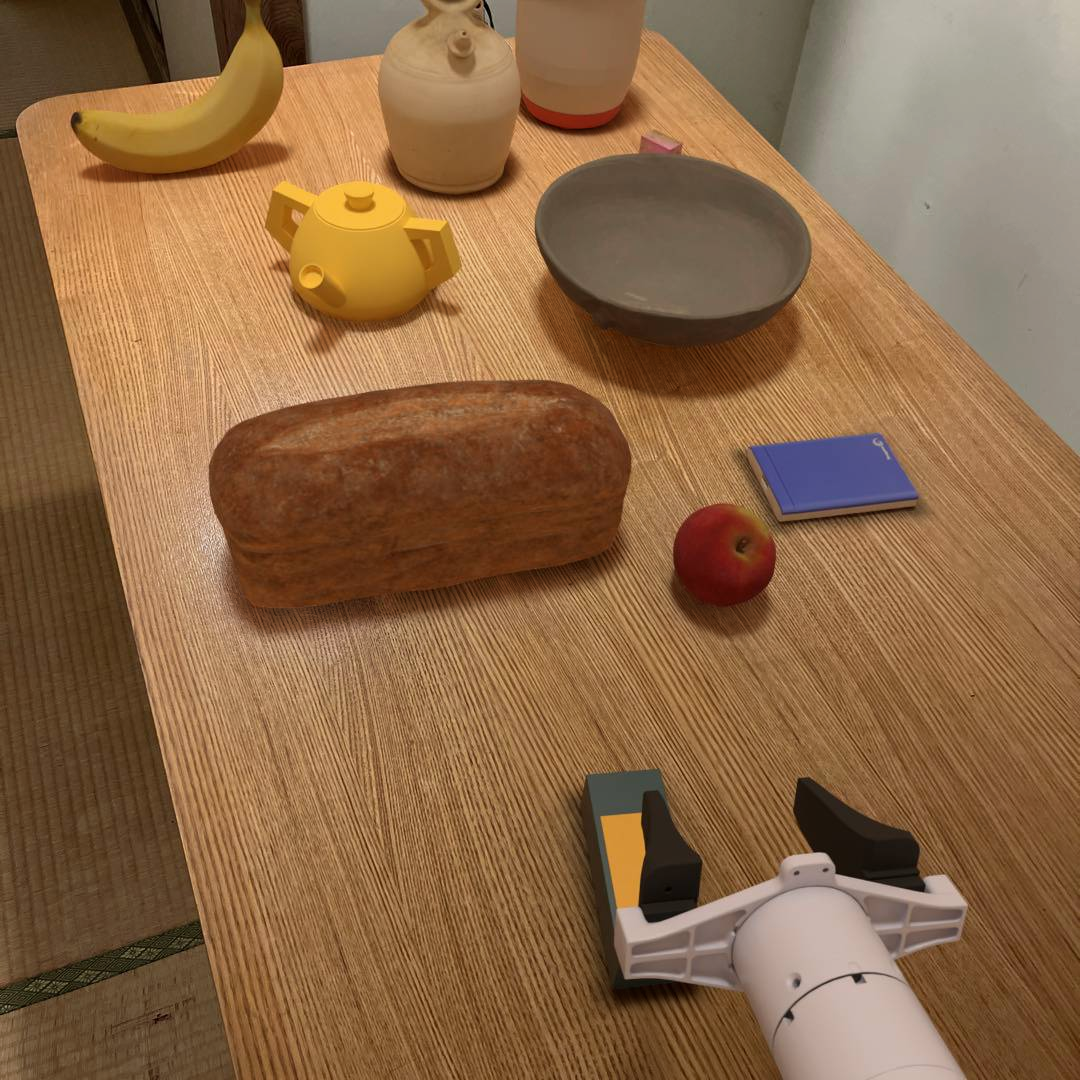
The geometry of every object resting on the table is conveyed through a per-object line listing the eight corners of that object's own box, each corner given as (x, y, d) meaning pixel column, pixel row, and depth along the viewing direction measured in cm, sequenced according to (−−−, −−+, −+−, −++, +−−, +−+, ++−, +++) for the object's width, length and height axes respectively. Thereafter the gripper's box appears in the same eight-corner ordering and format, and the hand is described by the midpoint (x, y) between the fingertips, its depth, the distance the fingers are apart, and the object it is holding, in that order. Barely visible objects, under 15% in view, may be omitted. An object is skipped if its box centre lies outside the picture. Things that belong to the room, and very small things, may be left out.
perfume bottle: (603, 182, 124) (607, 145, 121) (666, 148, 131) (672, 112, 127) (685, 225, 119) (692, 188, 116) (747, 187, 126) (755, 151, 122)
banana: (86, 190, 116) (34, -4, 101) (82, 163, 119) (32, -28, 104) (296, 167, 122) (277, -18, 107) (287, 142, 125) (267, -41, 111)
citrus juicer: (574, 65, 144) (590, -100, 129) (658, 121, 135) (684, -50, 120) (477, 91, 137) (481, -81, 122) (558, 151, 128) (574, -26, 113)
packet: (690, 981, 64) (703, 954, 61) (611, 989, 63) (620, 963, 60) (650, 798, 72) (660, 767, 69) (579, 804, 71) (586, 773, 68)
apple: (662, 621, 82) (680, 552, 76) (668, 543, 87) (685, 473, 81) (762, 636, 81) (787, 568, 76) (762, 557, 87) (785, 487, 81)
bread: (220, 515, 86) (192, 384, 76) (588, 462, 93) (606, 336, 83) (234, 634, 78) (204, 506, 68) (633, 567, 85) (659, 441, 75)
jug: (391, 129, 129) (382, -102, 110) (519, 140, 129) (533, -88, 111) (372, 197, 119) (360, -46, 100) (512, 208, 119) (525, -31, 101)
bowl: (817, 283, 114) (844, 197, 106) (743, 431, 97) (768, 342, 90) (590, 213, 120) (600, 127, 112) (483, 340, 103) (486, 250, 96)
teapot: (219, 327, 102) (199, 224, 93) (304, 228, 114) (293, 130, 105) (417, 378, 99) (415, 276, 91) (482, 272, 111) (486, 173, 102)
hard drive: (879, 430, 96) (749, 443, 94) (920, 495, 91) (783, 511, 88) (874, 443, 97) (746, 456, 95) (914, 508, 92) (779, 524, 90)
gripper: (1048, 926, 39) (879, 719, 51) (663, 970, 37) (582, 742, 49) (1009, 1065, 42) (858, 838, 54) (649, 1114, 40) (576, 865, 52)
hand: (726, 800), depth 52 cm, fingers open, 7 cm apart
